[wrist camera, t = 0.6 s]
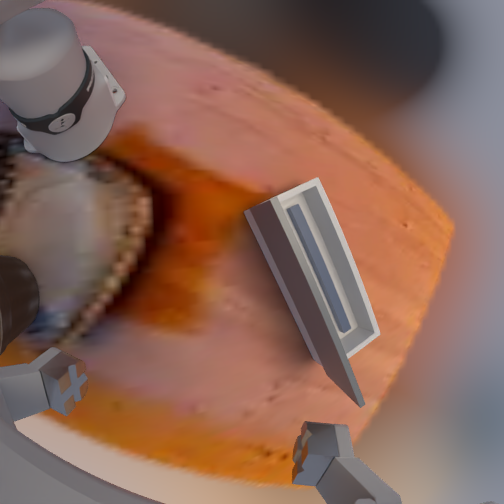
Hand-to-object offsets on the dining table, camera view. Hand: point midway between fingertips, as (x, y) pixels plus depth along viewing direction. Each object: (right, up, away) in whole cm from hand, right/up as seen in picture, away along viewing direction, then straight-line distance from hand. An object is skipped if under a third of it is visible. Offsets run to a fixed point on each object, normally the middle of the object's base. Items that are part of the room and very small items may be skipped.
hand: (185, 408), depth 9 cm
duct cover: (+10, -1, +28) cm, 29 cm away
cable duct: (+12, +2, +41) cm, 42 cm away
